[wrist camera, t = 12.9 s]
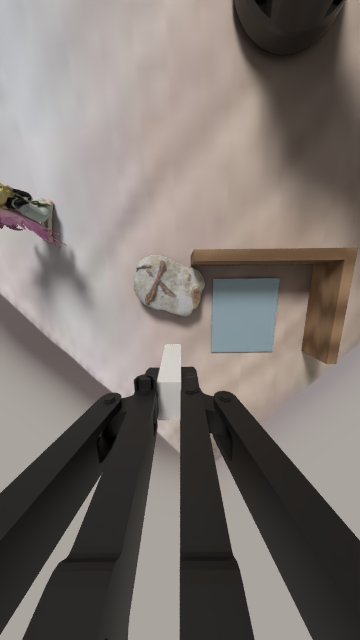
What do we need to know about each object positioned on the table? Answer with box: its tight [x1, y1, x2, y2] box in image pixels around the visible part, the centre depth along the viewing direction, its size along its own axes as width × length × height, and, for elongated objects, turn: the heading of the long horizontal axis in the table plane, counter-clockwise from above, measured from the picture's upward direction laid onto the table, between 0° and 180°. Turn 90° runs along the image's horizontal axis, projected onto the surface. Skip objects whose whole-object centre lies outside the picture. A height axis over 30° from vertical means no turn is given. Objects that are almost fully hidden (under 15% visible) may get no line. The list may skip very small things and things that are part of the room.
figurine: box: [0, 183, 66, 248], centre depth 23 cm, size 14×8×15 cm, turn 83°
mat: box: [211, 278, 280, 352], centre depth 33 cm, size 14×12×1 cm
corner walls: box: [191, 248, 358, 364], centre depth 30 cm, size 18×24×6 cm
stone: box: [134, 255, 205, 317], centre depth 30 cm, size 12×9×3 cm
